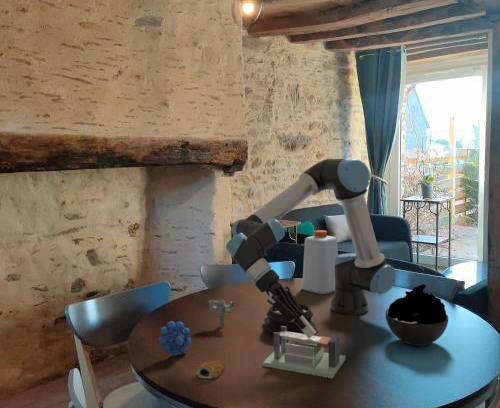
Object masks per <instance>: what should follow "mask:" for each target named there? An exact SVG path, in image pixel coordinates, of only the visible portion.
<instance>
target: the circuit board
mask: <svg viewBox="0 0 500 408" xmlns="http://www.w3.org/2000/svg"><path fill="white" fill-rule="evenodd" d="M284 354H285V352H281V345H280V359H279V360H278V359H274V351H273V352H272V353H271V354H270V355H269V356H268V357H266V358H265V360H264V361H263V362H262V363H263V364H262V367H267V368H272V369H278V370H282V371H283V370H284V371H289V372H294V373H301V374H304V375H310V374H311V376H316V375H317V377H321V376H322V378H327V377H328V379H334V378H335V376H336V375H335V374H337V373H338V372H337V371H339V370H340V369H341V367H342V365H343V364H344V363H345V361H346V355H343V354H340V361H339V363H338V364H337V366H336V367H335V368H333V367H329V355H328V352H324V355H323V356H322V357H321V359H320V360H319V361H318V363H317V364H316V365H315V367H314V368H313V369H312V368H306V367H300V366H295V365H289V364H285V355H284ZM333 377H334V378H333Z"/></svg>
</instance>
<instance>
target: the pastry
mask: <svg viewBox="0 0 500 408" xmlns="http://www.w3.org/2000/svg"><path fill="white" fill-rule="evenodd" d="M225 366H226V365H225V363H224V362H223V361H220V360H217V359H216V360H210V361H205V362H203V363H201V364H200V365H199V366H198V369H197V371H195V373H196V374H195V375H197V377H198V378H201V379H206V380H214V379H218V377H220V376H221V375H222V374H223V372H224V371H225Z"/></svg>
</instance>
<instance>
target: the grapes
mask: <svg viewBox="0 0 500 408" xmlns="http://www.w3.org/2000/svg"><path fill="white" fill-rule="evenodd" d="M159 331H160V334H161V336H159V337H158V343H159V345H161V346H162V351H163V352H164V353H165V354H169V353H170V354H171V356H172V357H177V356H179V355H180V354H185V353H186V352H187V351H188V347H187V346H190V345H191V344H192V339H191V337H190V334H191V329H190V328H189V327H185V324H184V322H182V321H177V322H175V321H172V320H171V321H168V322H167V324H166V326H163V327H161V328H160V330H159Z"/></svg>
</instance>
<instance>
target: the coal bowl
mask: <svg viewBox="0 0 500 408" xmlns="http://www.w3.org/2000/svg"><path fill="white" fill-rule="evenodd" d="M426 287H427V285H426V284H425V283H424V284H423V283H422V284H420V285H418V286H415V287H413V288H412V289H411V290H410V291H408V290H406V291H405V292H404V293H405V295H404V296H403V297H399V298H396V299H395V300H393V301H392V303H390V304H389V306H388V308H387V309H386V311H385V319H386V322H387V326H388V328H389V330H390V331H391V332H392V333H393V335H394V336H396V337H397V338H398V339H399V340H401V341H403V342H405V343H406V344H408V345H414V346H426V345H429V344H432V343H434V342H436V341H437V340H438V339H439V338H441V336H443V334H444V333H445V331H446V329H447V327H448V324H449V315H448V314H447V311H446V308H445V307H446V306H445V303H444V302H442V300H441V298H440V297H437V296H435V295H433V294H432V293H430V294H429V293H428V292H425V291H424V289H426Z"/></svg>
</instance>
